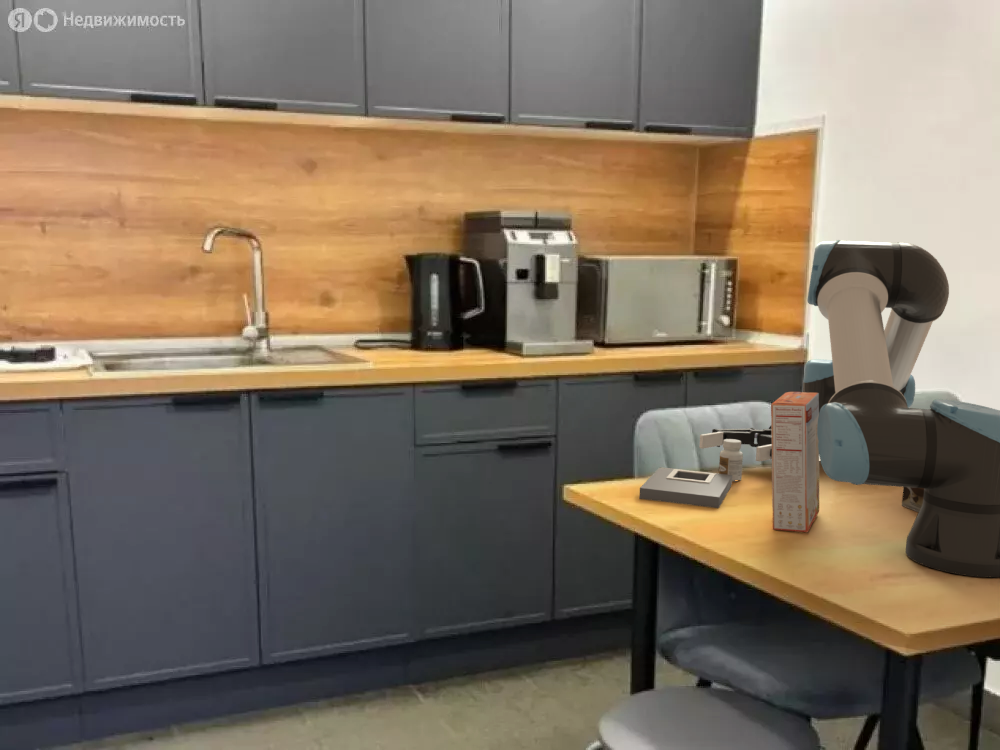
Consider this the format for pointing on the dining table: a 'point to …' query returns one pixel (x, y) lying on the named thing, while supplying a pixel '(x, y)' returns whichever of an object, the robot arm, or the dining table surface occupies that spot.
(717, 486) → the socket plate
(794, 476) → the cracker box
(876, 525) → the dining table surface
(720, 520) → the dining table surface
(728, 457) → the pill bottle
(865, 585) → the dining table surface
